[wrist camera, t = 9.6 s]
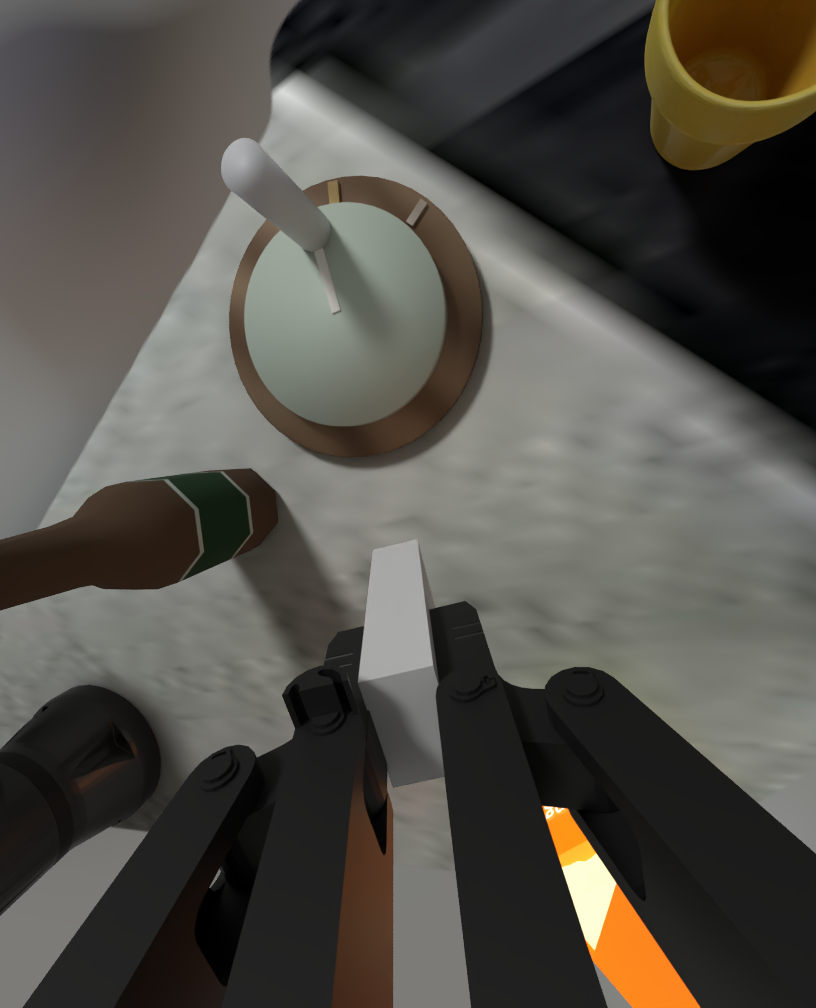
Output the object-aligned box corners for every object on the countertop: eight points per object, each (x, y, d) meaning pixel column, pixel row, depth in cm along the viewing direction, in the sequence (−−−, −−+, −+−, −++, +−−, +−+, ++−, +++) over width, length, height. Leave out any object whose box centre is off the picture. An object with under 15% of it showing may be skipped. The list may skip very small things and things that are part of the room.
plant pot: (711, 236, 31) (791, 153, 22) (585, 149, 32) (611, 36, 23) (840, 79, 28) (996, -92, 19) (699, -10, 29) (781, -215, 20)
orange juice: (590, 798, 39) (652, 1149, 20) (520, 718, 40) (517, 988, 21) (670, 753, 37) (826, 1098, 18) (596, 669, 38) (672, 919, 18)
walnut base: (377, 506, 40) (372, 509, 38) (197, 358, 42) (185, 355, 40) (541, 287, 34) (542, 282, 33) (324, 127, 36) (316, 115, 35)
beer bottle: (193, 486, 44) (-171, 550, 21) (257, 450, 42) (-69, 476, 19) (230, 560, 44) (-88, 703, 21) (296, 528, 42) (21, 649, 19)
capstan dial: (472, 391, 35) (451, 376, 25) (289, 449, 40) (208, 457, 29) (413, 175, 34) (366, 66, 24) (230, 260, 38) (124, 199, 28)
